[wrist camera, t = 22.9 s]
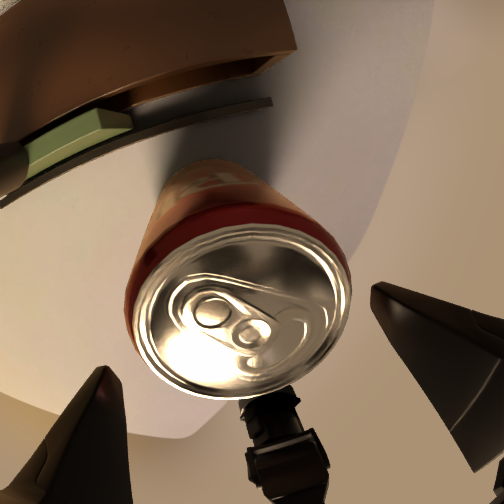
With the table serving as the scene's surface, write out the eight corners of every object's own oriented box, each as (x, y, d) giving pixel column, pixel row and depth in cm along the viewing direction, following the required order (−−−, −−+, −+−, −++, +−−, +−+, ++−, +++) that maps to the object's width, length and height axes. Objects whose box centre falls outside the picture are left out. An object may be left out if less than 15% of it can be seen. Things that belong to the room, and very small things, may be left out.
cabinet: (268, 107, 16) (309, 98, 10) (8, 204, 14) (-43, 238, 8) (234, -20, 11) (257, -72, 6) (-18, 87, 10) (-71, 86, 4)
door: (136, 137, 15) (25, 164, 4) (21, 192, 14) (-103, 280, 3) (128, 105, 14) (8, 70, 3) (12, 164, 13) (-120, 230, 2)
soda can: (285, 209, 19) (391, 309, 9) (213, 279, 21) (246, 422, 10) (211, 134, 16) (254, 143, 6) (135, 217, 17) (78, 343, 7)
